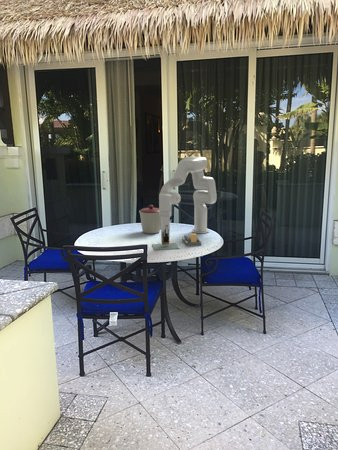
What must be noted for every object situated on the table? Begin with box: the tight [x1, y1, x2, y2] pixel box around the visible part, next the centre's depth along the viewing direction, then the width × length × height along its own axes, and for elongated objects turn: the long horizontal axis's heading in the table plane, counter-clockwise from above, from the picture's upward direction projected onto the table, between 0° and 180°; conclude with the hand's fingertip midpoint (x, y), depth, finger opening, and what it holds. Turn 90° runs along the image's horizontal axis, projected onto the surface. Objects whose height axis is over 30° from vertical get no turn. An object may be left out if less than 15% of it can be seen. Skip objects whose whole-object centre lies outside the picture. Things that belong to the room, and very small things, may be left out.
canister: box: [138, 204, 161, 235], centre depth 271 cm, size 18×18×21 cm
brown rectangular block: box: [160, 230, 170, 245], centre depth 232 cm, size 5×5×9 cm
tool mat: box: [151, 242, 180, 251], centre depth 233 cm, size 12×16×1 cm
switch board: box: [181, 235, 202, 247], centre depth 243 cm, size 14×10×4 cm
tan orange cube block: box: [189, 232, 198, 242], centre depth 238 cm, size 4×4×5 cm
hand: (165, 240), depth 233 cm, fingers closed on brown rectangular block, 4 cm apart
